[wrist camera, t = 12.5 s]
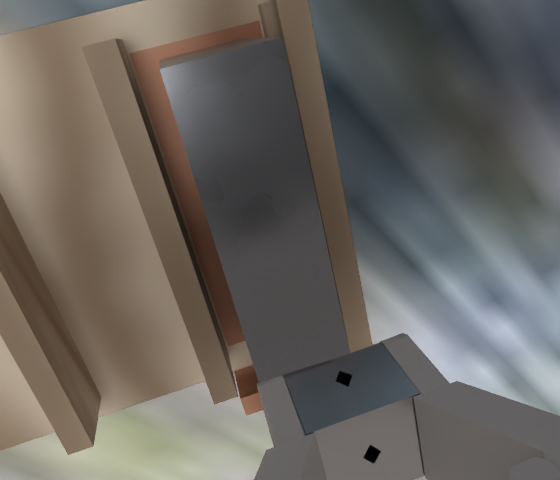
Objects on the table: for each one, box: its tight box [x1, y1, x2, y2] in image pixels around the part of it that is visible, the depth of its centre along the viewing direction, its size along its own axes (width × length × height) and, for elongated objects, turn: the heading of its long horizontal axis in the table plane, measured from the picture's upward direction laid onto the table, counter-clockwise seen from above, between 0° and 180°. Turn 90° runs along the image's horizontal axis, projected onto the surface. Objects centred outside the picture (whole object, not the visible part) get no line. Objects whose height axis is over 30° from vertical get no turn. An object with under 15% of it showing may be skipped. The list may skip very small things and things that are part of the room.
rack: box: [0, 0, 372, 455], centre depth 19 cm, size 19×17×4 cm
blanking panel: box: [159, 37, 350, 383], centre depth 17 cm, size 3×12×7 cm, turn 14°
